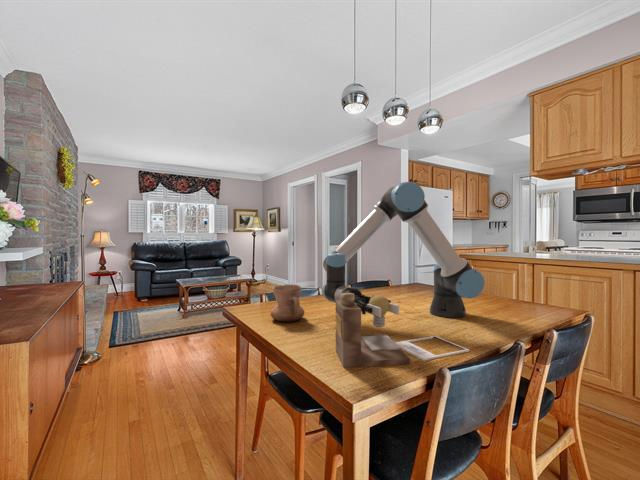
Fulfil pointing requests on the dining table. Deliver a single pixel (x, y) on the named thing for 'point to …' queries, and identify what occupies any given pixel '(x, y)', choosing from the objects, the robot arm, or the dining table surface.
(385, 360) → the brown l-shaped block
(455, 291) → the robot arm
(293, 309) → the ceramic jug
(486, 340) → the dining table surface
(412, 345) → the photo frame
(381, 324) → the light bulb
